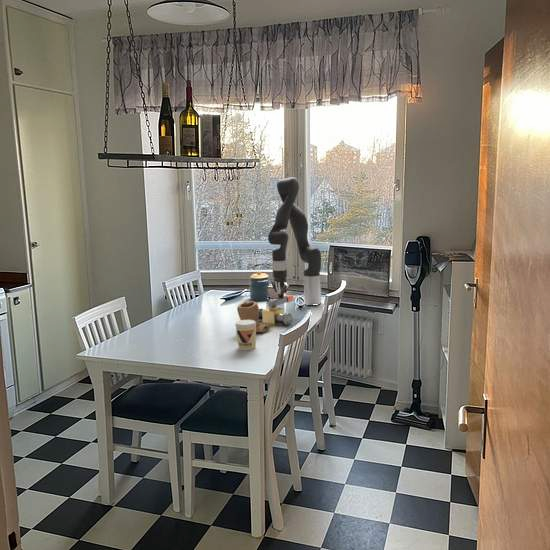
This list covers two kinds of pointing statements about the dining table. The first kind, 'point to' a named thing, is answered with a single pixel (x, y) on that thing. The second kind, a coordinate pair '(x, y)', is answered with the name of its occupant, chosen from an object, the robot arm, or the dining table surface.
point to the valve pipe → (274, 316)
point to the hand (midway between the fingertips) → (281, 300)
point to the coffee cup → (246, 334)
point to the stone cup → (252, 315)
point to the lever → (280, 300)
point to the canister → (259, 286)
